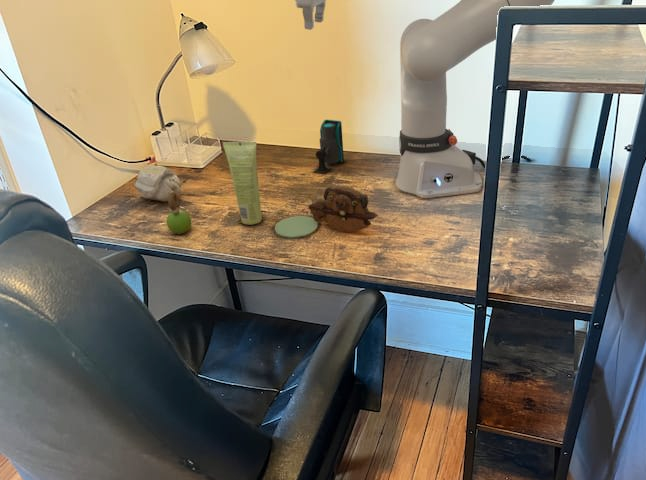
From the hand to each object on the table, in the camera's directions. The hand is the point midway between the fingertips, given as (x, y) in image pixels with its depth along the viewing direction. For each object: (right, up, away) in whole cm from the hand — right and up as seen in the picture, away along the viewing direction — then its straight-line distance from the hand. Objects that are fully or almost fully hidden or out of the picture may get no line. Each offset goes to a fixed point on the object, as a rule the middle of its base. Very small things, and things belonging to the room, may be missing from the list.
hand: (314, 25), depth 121 cm
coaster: (-4, -45, +4) cm, 46 cm away
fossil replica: (-42, -36, +21) cm, 59 cm away
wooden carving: (+6, -46, +2) cm, 47 cm away
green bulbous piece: (-31, -46, +5) cm, 56 cm away
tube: (-15, -44, +8) cm, 47 cm away
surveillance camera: (+1, -26, +34) cm, 42 cm away
